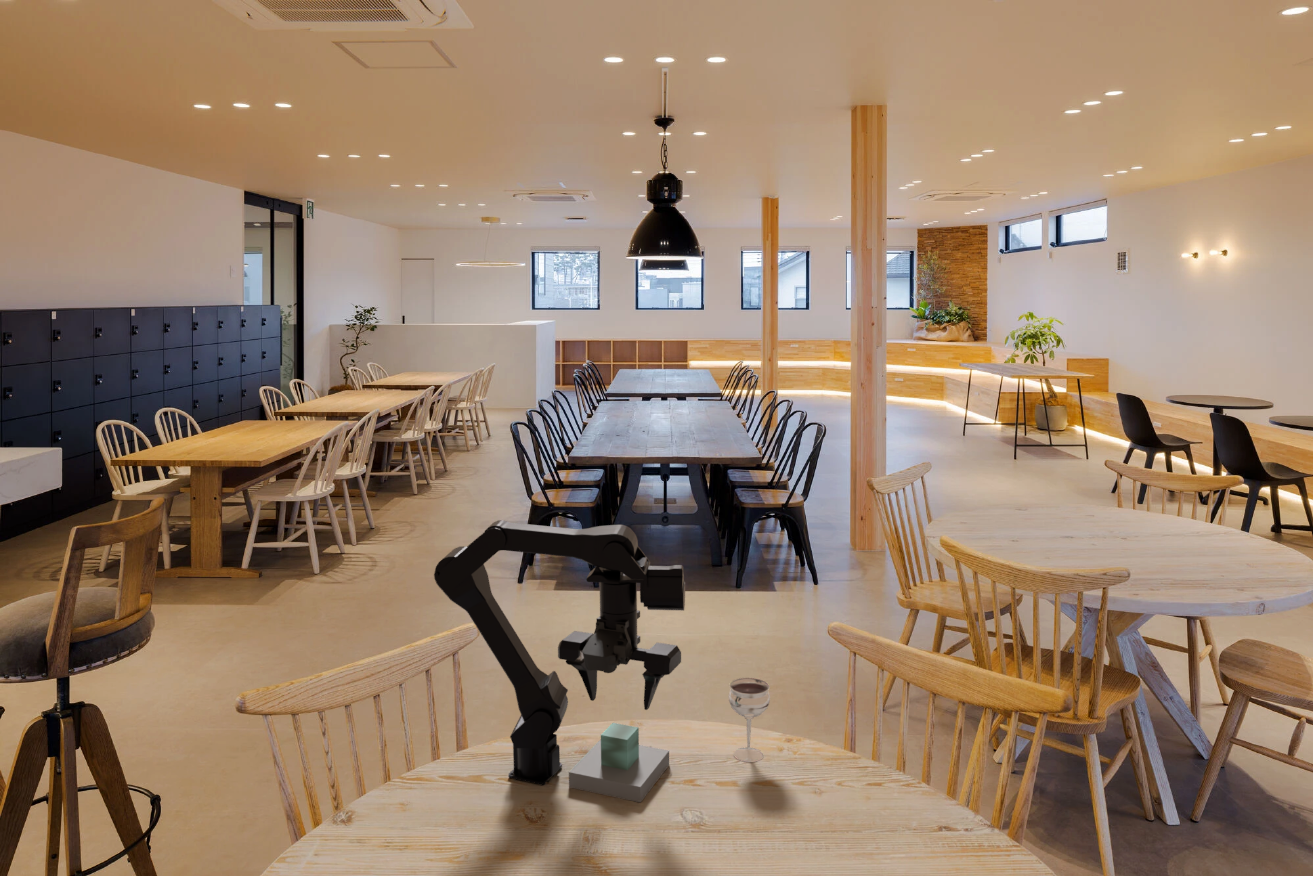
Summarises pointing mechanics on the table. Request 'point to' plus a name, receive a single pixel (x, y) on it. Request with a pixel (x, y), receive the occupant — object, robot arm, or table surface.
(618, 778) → the plinth
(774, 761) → the table surface
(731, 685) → the wineglass
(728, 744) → the table surface
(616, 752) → the teal block
